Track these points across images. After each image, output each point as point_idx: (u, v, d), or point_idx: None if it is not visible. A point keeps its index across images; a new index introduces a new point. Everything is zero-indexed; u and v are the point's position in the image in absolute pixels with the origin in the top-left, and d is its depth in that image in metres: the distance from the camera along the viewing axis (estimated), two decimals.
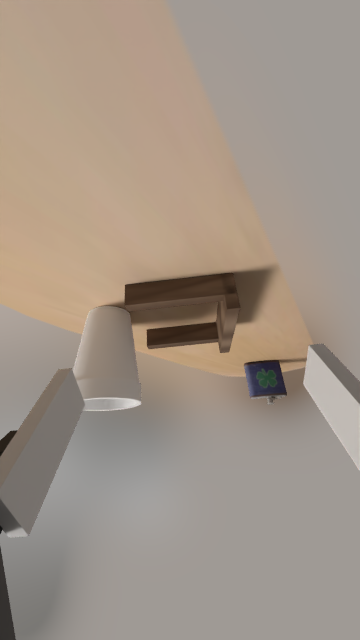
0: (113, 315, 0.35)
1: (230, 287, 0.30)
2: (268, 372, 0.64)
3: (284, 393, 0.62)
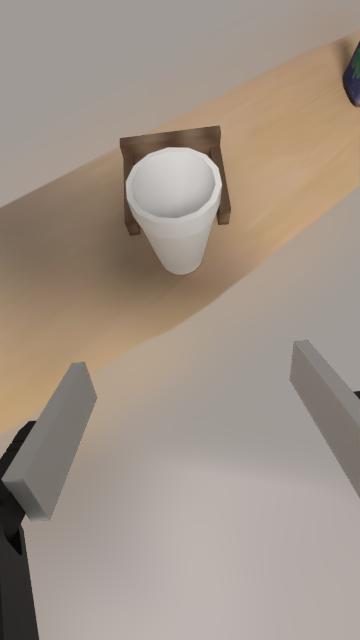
0: None
1: None
2: (354, 65, 0.42)
3: None
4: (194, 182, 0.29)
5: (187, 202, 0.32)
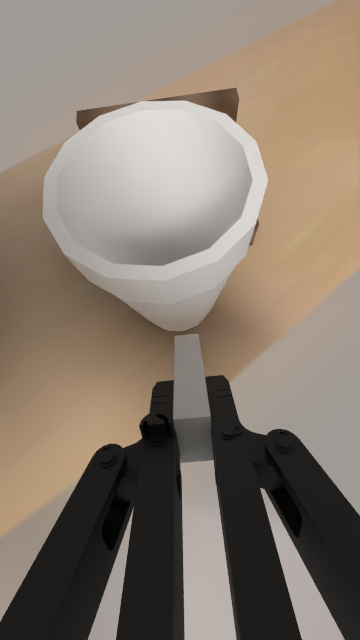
0: None
1: None
2: None
3: None
4: (199, 177, 0.14)
5: (186, 215, 0.17)
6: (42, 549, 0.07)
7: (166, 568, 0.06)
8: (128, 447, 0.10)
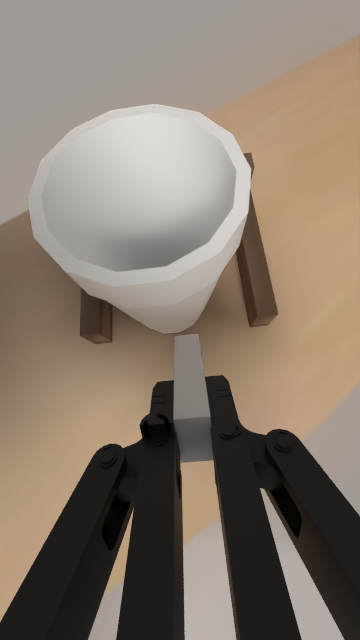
0: None
1: None
2: None
3: None
4: (177, 177, 0.15)
5: (168, 216, 0.18)
6: (42, 549, 0.07)
7: (166, 568, 0.06)
8: (128, 447, 0.10)
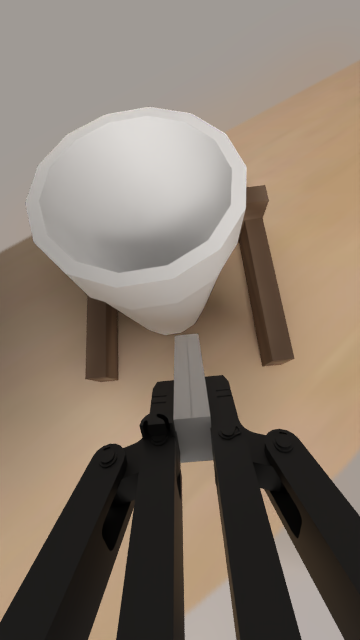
0: None
1: None
2: None
3: None
4: (173, 179, 0.15)
5: (164, 217, 0.18)
6: (42, 549, 0.07)
7: (166, 568, 0.06)
8: (128, 447, 0.10)
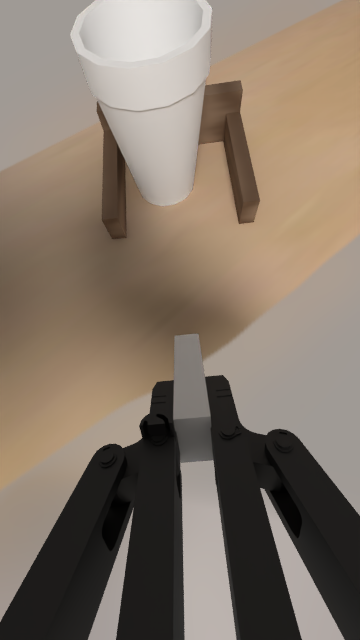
0: None
1: None
2: None
3: None
4: (167, 48, 0.21)
5: None
6: (42, 549, 0.07)
7: (165, 568, 0.06)
8: (128, 447, 0.10)
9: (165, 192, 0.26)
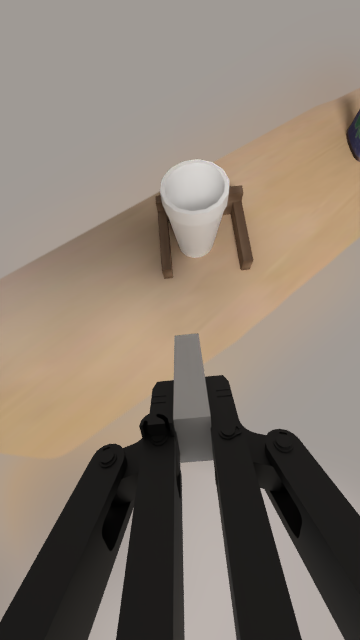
0: None
1: None
2: (357, 127, 0.48)
3: None
4: (203, 183, 0.38)
5: (197, 199, 0.41)
6: (42, 549, 0.07)
7: (166, 568, 0.06)
8: (128, 447, 0.10)
9: (197, 252, 0.44)
